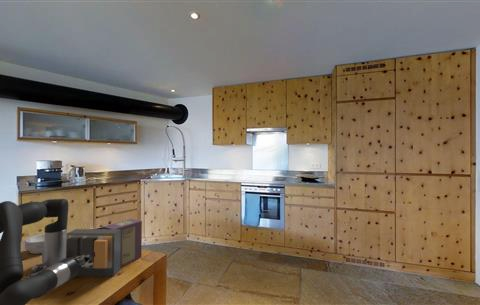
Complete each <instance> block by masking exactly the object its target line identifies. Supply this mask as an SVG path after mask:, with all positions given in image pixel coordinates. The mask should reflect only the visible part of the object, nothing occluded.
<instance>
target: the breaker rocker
mask: <svg viewBox="0 0 480 305" xmlns="http://www.w3.org/2000/svg"><path fill="white" fill-rule="evenodd" d="M94 252H95V257H94V268H106V267H107V263H108V240H96V241H94Z"/></svg>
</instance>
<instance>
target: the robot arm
mask: <svg viewBox="0 0 480 305" xmlns="http://www.w3.org/2000/svg"><path fill="white" fill-rule="evenodd" d="M68 217H69V201H68V200H67V198H54V199H53V198H52V199H46V200H43V201H42V200H41V201H29V202H25V203H21V204H19V205H18V204H17V203H15V202H13V201H11V200H5V201H1V202H0V234H1V237H0V305H27V304H29V302H30V301H32V300H33V299H39V298H41V297H44V296H45V295H46V294H49V293H50V292H51V291H53V290H54V289H56V288H59V287H61V286H63V284H66V283H67V282H68V281H70V280H71V279H72V278H74V277H77V276H76V274H77V273H78V271H79V270H81V269H83V268H85V266H89V267H93V258H94V257H95V252H90V253H88V254H86V255H82V256H81V255H78V256H74V257H70V258H66V239H67V233H68V219H69V218H68ZM45 218H57V220H56V221H55V222H51V223H48V224H47V225H45V226H44V234H45V236H44V246H43V247H42V253H41V263H44V265H43V266H46V267H47V269H46V270H44V271H42V272H40V273H38V274H36V275H35V276H33V277H25V278H23V276H24V272H25V270H24V264H23V258H22V252H21V247H22V244H21V243H22V235H23V226H27V225H32V224H36V223H39V222H40V221H42V220H43V219H45Z"/></svg>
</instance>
